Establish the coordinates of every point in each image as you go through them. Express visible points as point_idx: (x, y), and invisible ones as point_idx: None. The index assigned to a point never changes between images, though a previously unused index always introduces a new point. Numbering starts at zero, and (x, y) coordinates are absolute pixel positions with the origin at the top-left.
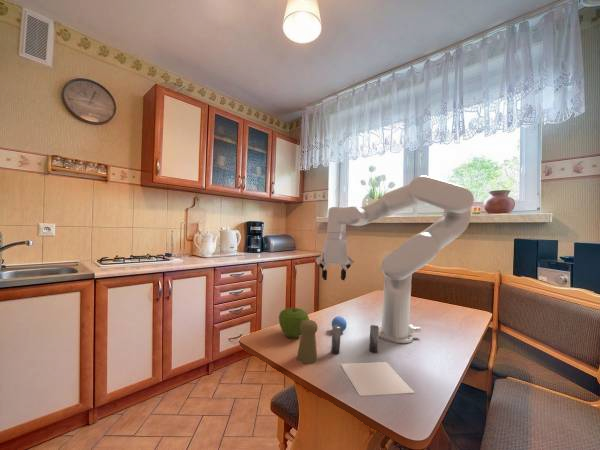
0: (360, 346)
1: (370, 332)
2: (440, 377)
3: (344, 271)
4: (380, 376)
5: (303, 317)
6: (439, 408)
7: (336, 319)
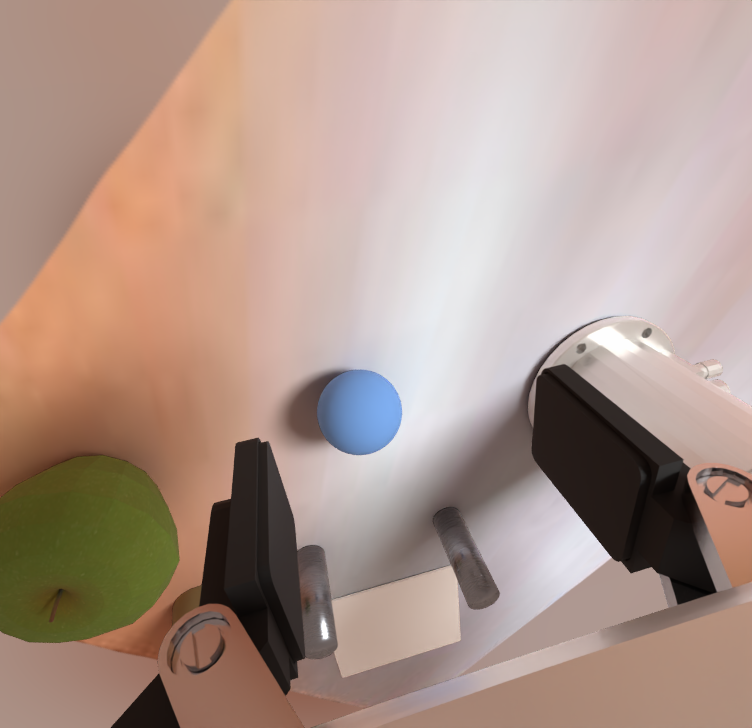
0: (413, 496)
1: (458, 581)
2: (555, 580)
3: (631, 563)
4: (412, 619)
5: (144, 612)
6: (480, 656)
7: (345, 449)
